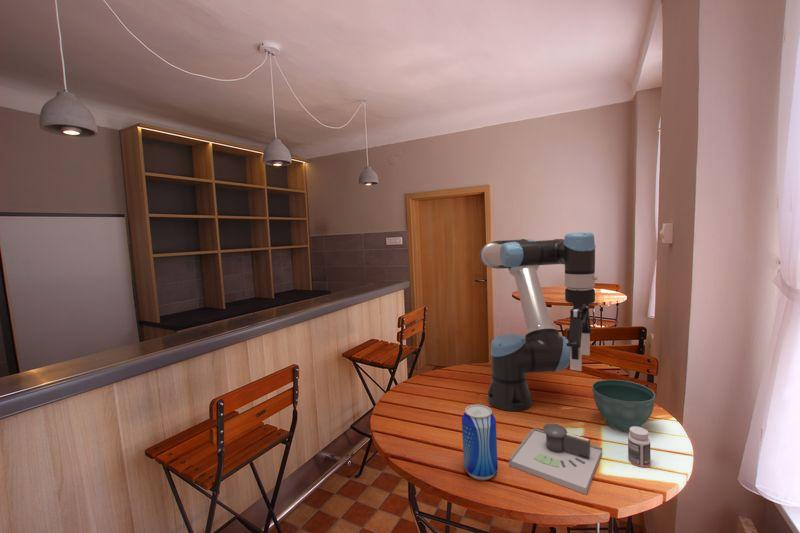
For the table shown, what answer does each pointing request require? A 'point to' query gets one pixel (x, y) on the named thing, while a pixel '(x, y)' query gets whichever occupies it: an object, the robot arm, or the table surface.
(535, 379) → the table surface
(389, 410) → the table surface
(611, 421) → the flower pot
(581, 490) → the tuner board
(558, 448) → the tuner knob
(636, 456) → the pill bottle
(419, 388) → the table surface
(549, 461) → the green curved panel
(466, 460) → the beer can
